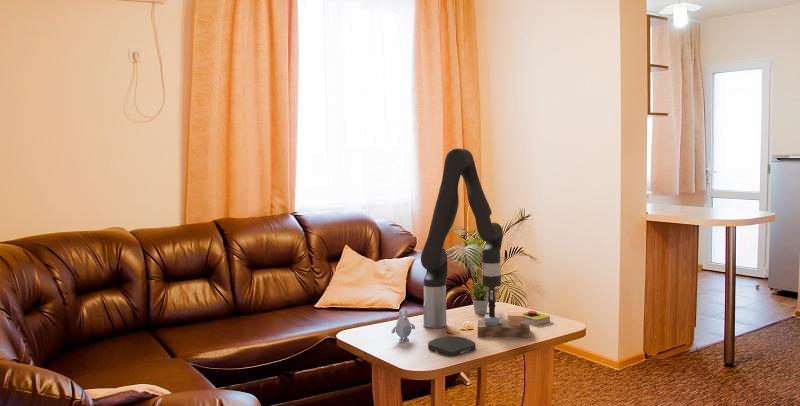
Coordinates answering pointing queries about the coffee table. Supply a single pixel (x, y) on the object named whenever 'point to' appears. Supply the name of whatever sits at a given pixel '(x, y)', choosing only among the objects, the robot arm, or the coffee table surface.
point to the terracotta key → (514, 318)
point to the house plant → (479, 298)
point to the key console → (503, 329)
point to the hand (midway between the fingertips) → (492, 316)
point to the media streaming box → (451, 346)
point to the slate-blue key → (491, 320)
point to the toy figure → (403, 327)
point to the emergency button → (536, 319)
